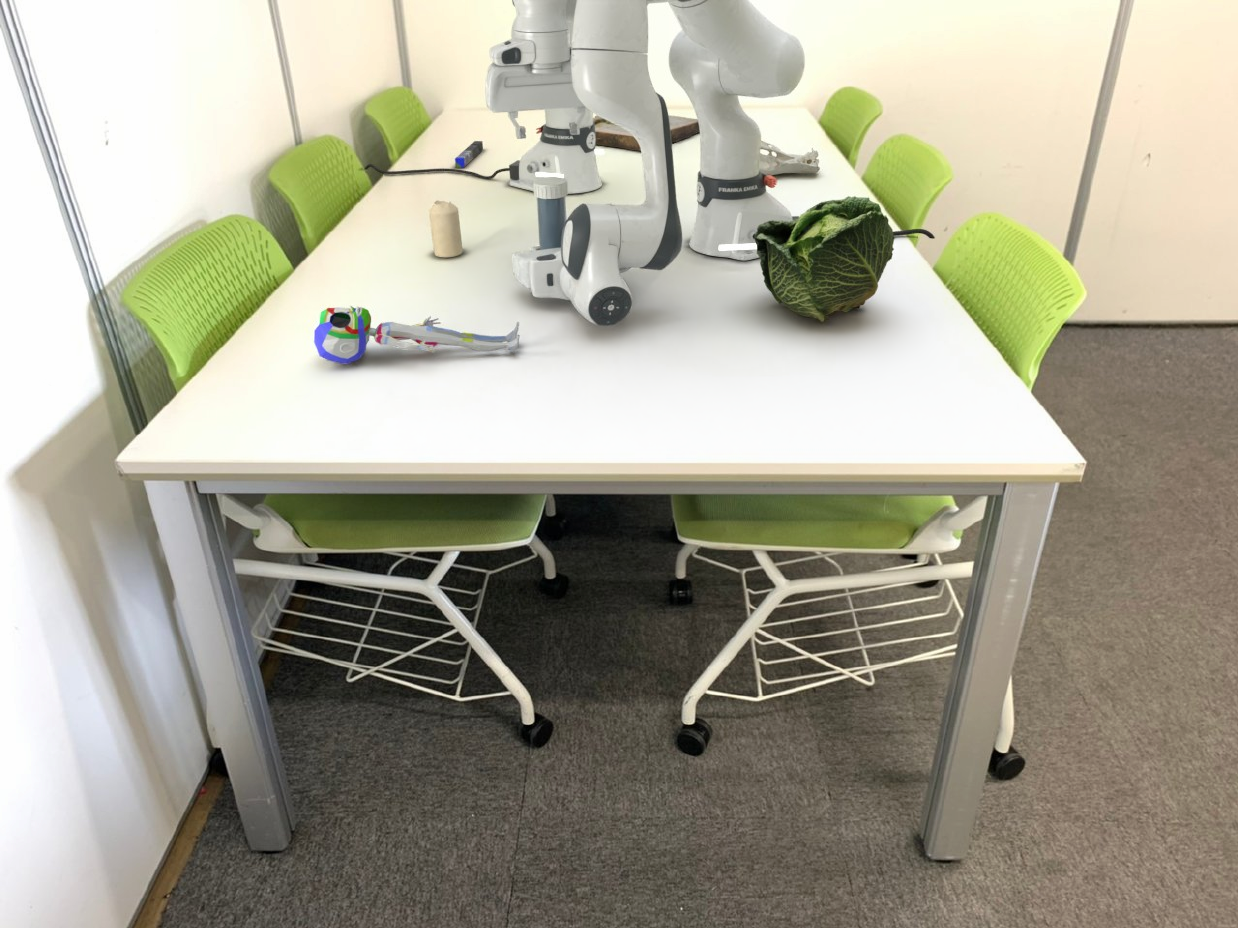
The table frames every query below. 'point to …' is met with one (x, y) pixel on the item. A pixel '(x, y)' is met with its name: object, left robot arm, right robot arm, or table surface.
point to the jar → (551, 221)
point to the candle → (445, 229)
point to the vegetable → (826, 256)
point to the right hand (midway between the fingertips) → (560, 247)
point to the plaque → (623, 139)
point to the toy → (392, 335)
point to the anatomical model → (787, 161)
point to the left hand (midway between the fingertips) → (548, 136)
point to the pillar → (468, 154)
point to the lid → (550, 187)
